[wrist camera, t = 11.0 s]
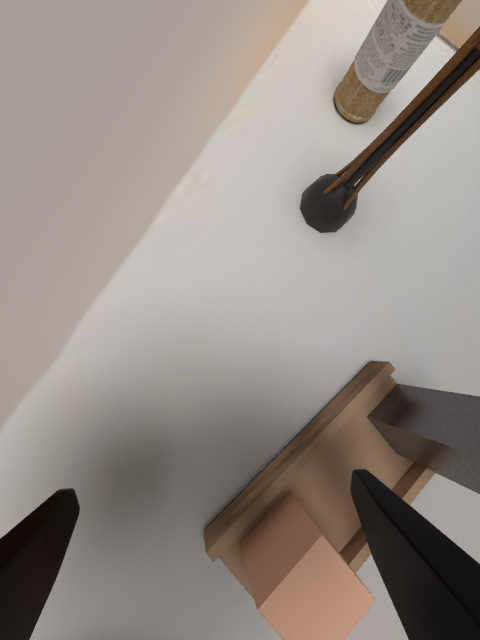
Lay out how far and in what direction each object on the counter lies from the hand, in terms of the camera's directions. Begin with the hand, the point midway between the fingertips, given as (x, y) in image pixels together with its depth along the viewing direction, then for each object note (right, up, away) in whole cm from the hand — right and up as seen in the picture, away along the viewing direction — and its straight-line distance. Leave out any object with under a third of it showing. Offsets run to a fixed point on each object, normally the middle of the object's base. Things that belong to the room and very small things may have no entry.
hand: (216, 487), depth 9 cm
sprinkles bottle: (+12, +27, +19) cm, 35 cm away
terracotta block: (+4, -11, +11) cm, 16 cm away
